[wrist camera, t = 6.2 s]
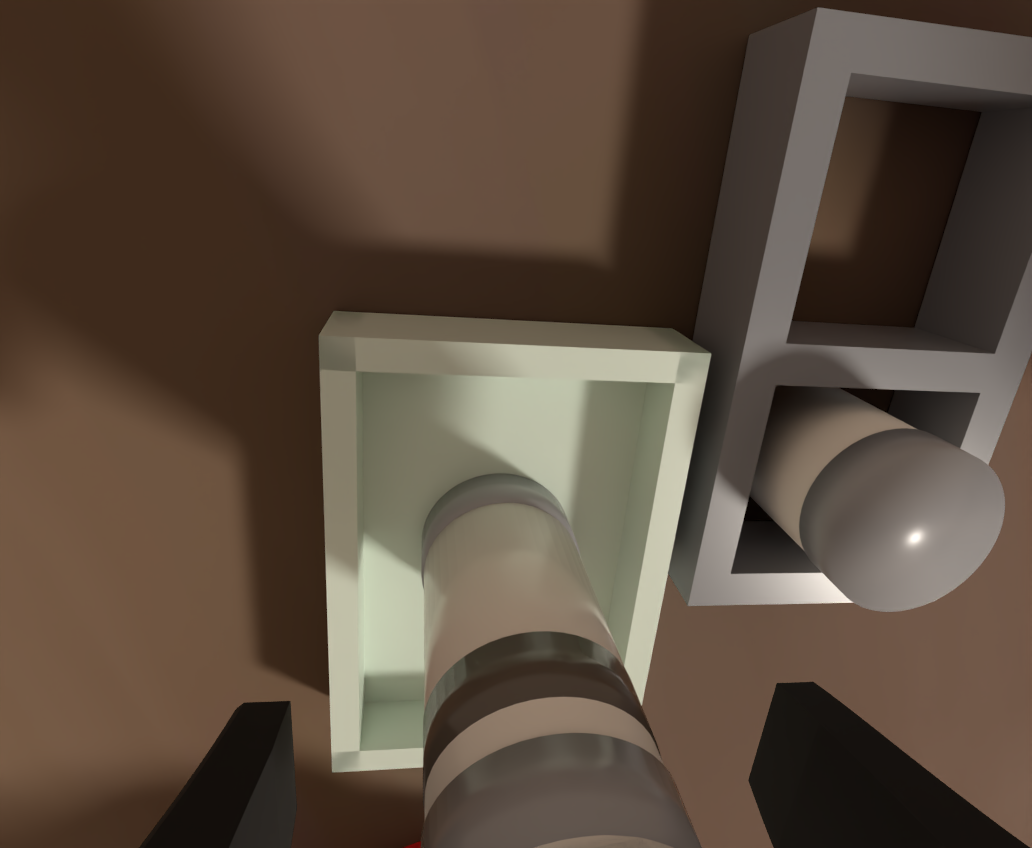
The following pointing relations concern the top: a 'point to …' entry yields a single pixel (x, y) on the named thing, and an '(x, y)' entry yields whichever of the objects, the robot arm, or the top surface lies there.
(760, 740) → the robot arm
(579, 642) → the cylinder
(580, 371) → the parts tray
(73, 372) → the top surface
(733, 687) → the top surface
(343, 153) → the top surface
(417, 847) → the kitchen timer
